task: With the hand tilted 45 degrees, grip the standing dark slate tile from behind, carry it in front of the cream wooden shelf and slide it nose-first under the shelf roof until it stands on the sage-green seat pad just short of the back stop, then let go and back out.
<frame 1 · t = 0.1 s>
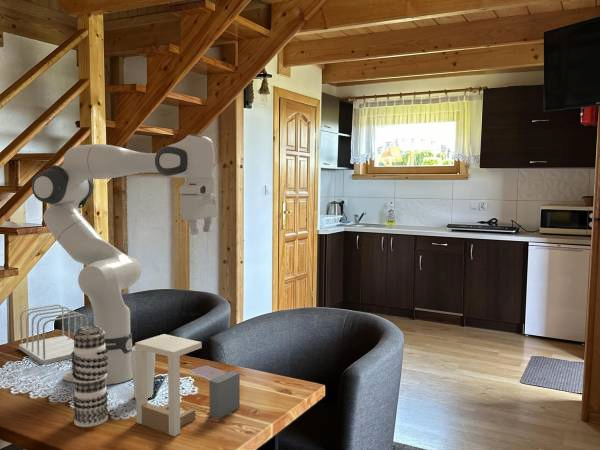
hand: (200, 233, 164), 48 cm above the table, tool pointing down, fingers open, 8 cm apart
decorative candle: (91, 420, 142), on the table
file sorter: (54, 352, 200), on the table
shelf: (175, 419, 143), on the table
drinking glass: (143, 398, 157), on the table
mobile phone: (211, 375, 177), on the table
slate tile: (224, 411, 148), on the table
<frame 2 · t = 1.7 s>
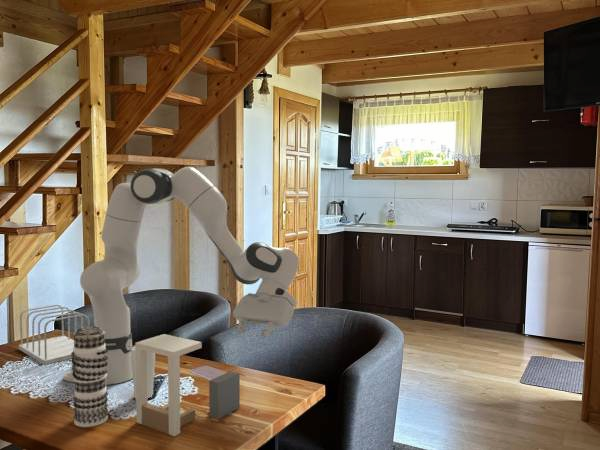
hand: (251, 334, 156), 19 cm above the table, tool tilted 45°, fingers open, 8 cm apart
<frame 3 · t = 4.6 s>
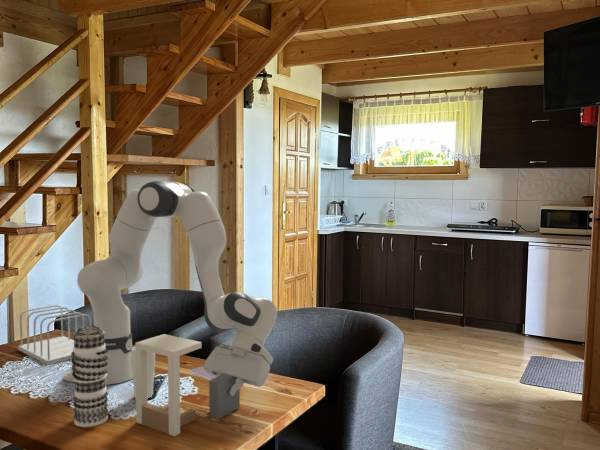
hand: (223, 392, 147), 6 cm above the table, tool tilted 45°, fingers closed on slate tile, 3 cm apart
slate tile: (224, 411, 148), on the table, touching gripper
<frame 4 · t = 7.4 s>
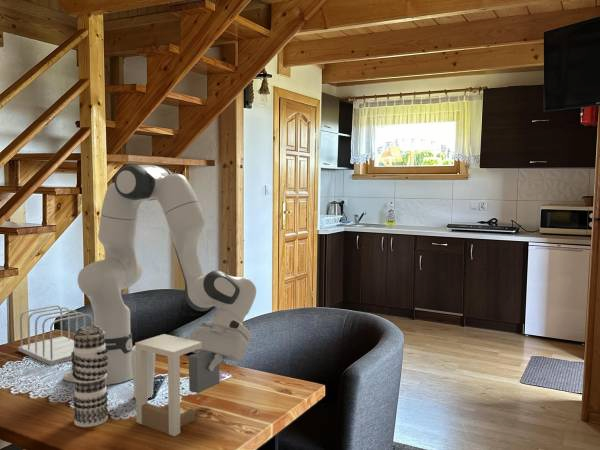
hand: (202, 368, 150), 11 cm above the table, tool tilted 45°, fingers closed on slate tile, 3 cm apart
slate tile: (204, 386, 151), point 5 cm above the table, touching gripper
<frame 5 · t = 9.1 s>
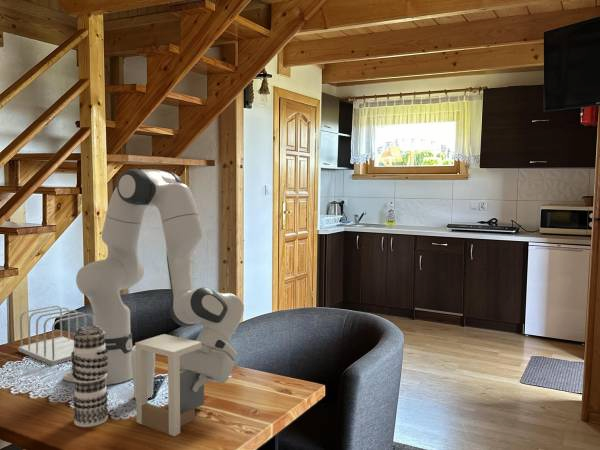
hand: (186, 389, 146), 7 cm above the table, tool tilted 45°, fingers closed on slate tile, 3 cm apart
slate tile: (188, 408, 147), point 1 cm above the table, touching gripper
when the fingers open (7 cm above the table, at t = 10.3 s): slate tile stays where it is, resting on shelf.
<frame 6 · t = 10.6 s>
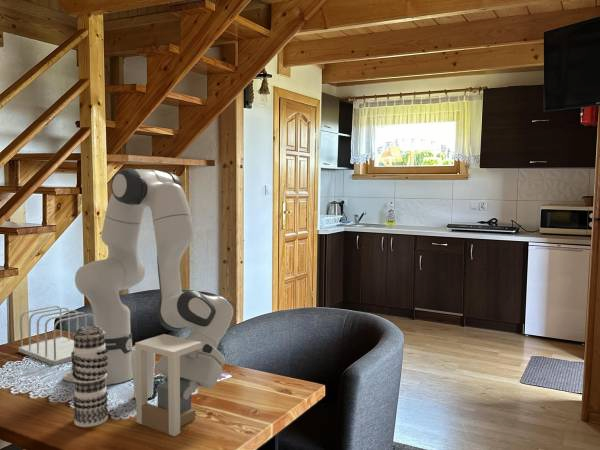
hand: (172, 395, 142), 7 cm above the table, tool tilted 45°, fingers open, 6 cm apart
slate tile: (174, 418, 143), resting on shelf
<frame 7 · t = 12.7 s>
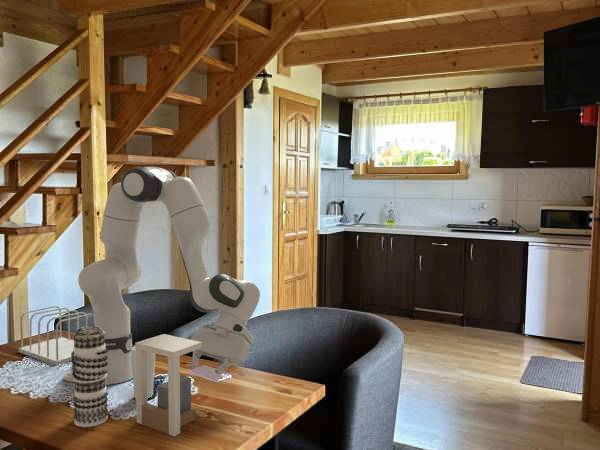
hand: (205, 370, 153), 10 cm above the table, tool tilted 45°, fingers open, 8 cm apart
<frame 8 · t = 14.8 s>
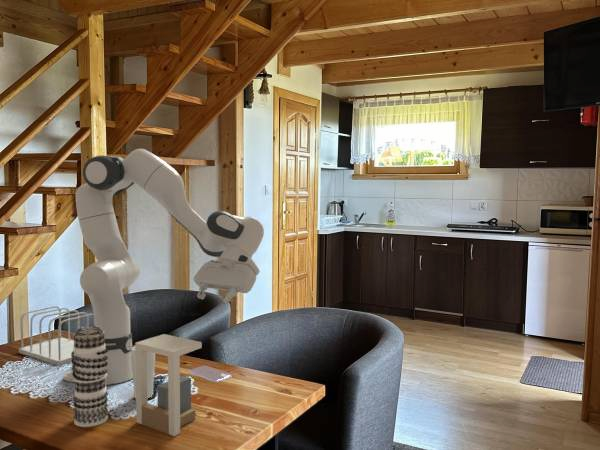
hand: (211, 299, 155), 29 cm above the table, tool tilted 45°, fingers open, 8 cm apart
at the end: slate tile 0.0 cm off-centre on the shelf, point 0.3 cm above the shelf's base; slate tile tilted 0°; the gripper is holding nothing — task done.
